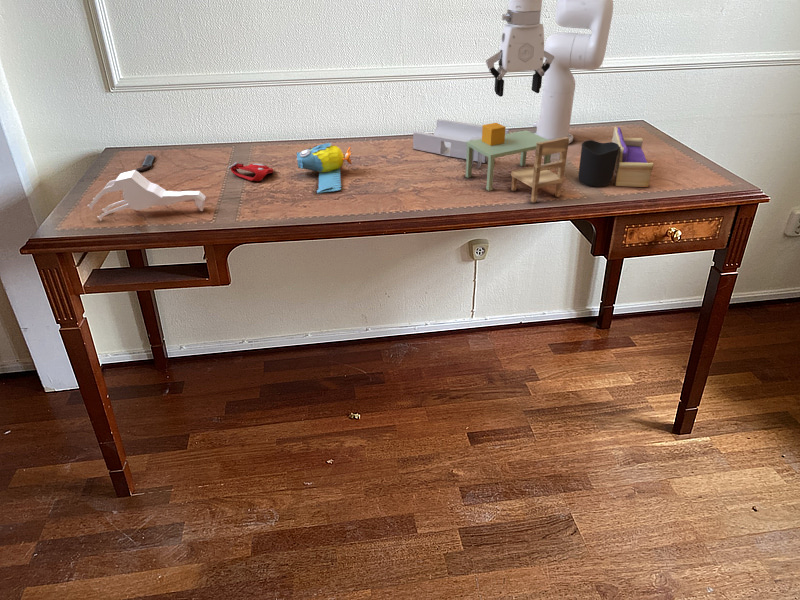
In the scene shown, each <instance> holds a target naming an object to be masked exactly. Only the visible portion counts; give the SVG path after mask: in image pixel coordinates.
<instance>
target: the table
mask: <svg viewBox="0 0 800 600" xmlns="http://www.w3.org/2000/svg"><path fill="white" fill-rule="evenodd" d="M534 133H535V132H532V131H530V130H528V129H524V130H520V131H515V132H509V134H505V141H504V143H502V144H497V145H492V146H490V145H488V144H486V143H484V142H482V139H477V140H472V141H467V142H466V145H467V157H466V159H465V178H467V179H469V178H472V173H473V165H472V155H473V149H474V150H476V151H478V152H479V153H481V154H483V155H485V157H486V156H487V157H488V161H487V171H486V172H487V173H486V186H485V189H486V191H488V192H490V191H493V188H494V187H493V185H494V173H495V172H494V171H495V159H497V158H500V157H506V156H511V155H515V154H520V157H519V166H521V167H525V166H526V165H527V153H528V152H529V151H536V144H537V143H538V142H543V141H548V140H547V139H545V138H543V137H541V136H538V135H536V134H534ZM543 157H544V158H543V164H546V163H551V157H552V154H549V155H544V156H543ZM548 170H549V171H550V169H548Z"/></svg>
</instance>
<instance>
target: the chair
mask: <svg viewBox="0 0 800 600" xmlns="http://www.w3.org/2000/svg"><path fill="white" fill-rule="evenodd" d="M568 143H569V138H568V137H563V138H558V139H553V140H548V141H543V142H538V143H537V144H536V149H535V155H534V163H533V166H531V167H525V168H521V169H517V170H512V171H511V174H510V176H511V186H510V191H512V192H515V191H517V187H518V181H520V182H521V183H523V184H525V185H526V186H529V187H530V188H532V189H531V196H530V203H533V204H534V203H537V199H538V191H539V189H540V188H545V187H550V186H553V185H555V190H554V197H556V198H559V197H561V191H562V186H563V185H562V183H564V180H565V179H564V178H565V172H566V166H567V165H566V163H567V157H568V151H569V144H570V143H569V144H568ZM557 153H559V159H558V160H557V161H556V160H555V161H552V162H551V161H550V163H546V164H544V163H542V160H543V157H544V156H545V155H549V154H551V155H553V154H557ZM556 168H558V169H557V173H555V172H553V171H551V170H553V169H556ZM548 169H549V170H548Z"/></svg>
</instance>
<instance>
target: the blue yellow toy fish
mask: <svg viewBox="0 0 800 600" xmlns="http://www.w3.org/2000/svg"><path fill="white" fill-rule="evenodd" d="M351 147H352V146H350V147H348V148H347V150H346V153H345V154H344V153H343V151H342V149H341V148H340V147H338V146H337V145H332V143H331V142H325V143H320V144H316V145H315V146H313V147H312V148H311V147H309V148H306V149H303V150H301V151H299V152H298V151H296V160H297V168H298V169H302V170H308V171H312V172H318V189H317V190H316V193H317V194H323V193H324V194H327V193H328V194H329V193H333V192H338V191H342V179H341V178H342V176H341V175H342V174H341V173H342V172H341V167H342V166H343V165H344V161H346V162H347V164H350V165H352V153H351V152H352V151H351Z"/></svg>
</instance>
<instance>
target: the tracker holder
mask: <svg viewBox="0 0 800 600" xmlns="http://www.w3.org/2000/svg"><path fill="white" fill-rule="evenodd" d="M228 169H230V171H231V173H232V174H234V175H235V176H237V177H239V178H242V179H245V180H248V181H251V182H252V181H253V182H261V181H262V180H263V179H264V178H265V177H266V176H267V175H268V174H273V173H274V168H271V167H269V166H268V165H266V164H262V163H250V164H248V165H245V163H244V162H240V161H236V162H234V163H232V164H231V165H230V166H228ZM238 170H241V171H242V170H243V171H247V172H251V173H254V174H255V175H254V176H253V177H252V176H249V175H246V174H243V173H241V172H240V171H238Z"/></svg>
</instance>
